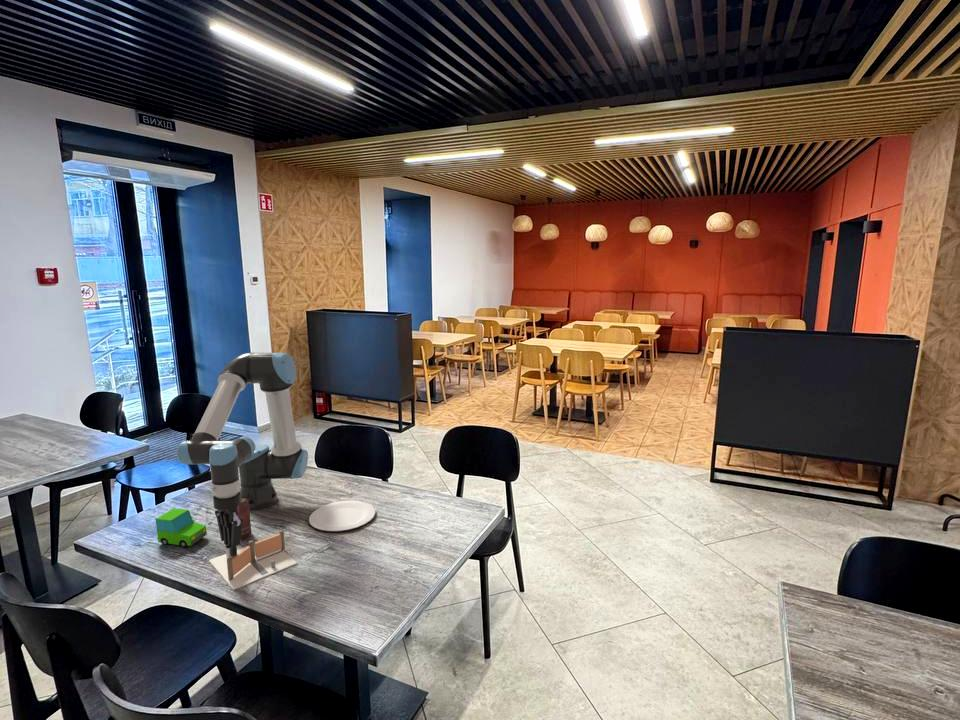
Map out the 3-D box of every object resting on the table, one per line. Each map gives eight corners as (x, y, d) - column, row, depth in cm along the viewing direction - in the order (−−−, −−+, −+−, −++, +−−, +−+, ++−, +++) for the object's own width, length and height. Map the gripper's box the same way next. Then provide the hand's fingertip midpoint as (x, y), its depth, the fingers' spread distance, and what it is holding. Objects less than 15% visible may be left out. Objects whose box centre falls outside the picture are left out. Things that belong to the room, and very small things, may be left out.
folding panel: (248, 562, 167) (246, 543, 166) (252, 563, 166) (250, 544, 165) (227, 579, 158) (225, 559, 156) (231, 580, 157) (229, 560, 156)
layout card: (269, 539, 183) (268, 532, 182) (297, 563, 167) (296, 557, 167) (208, 561, 169) (208, 554, 168) (233, 590, 153) (232, 583, 153)
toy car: (189, 551, 175) (186, 523, 173) (156, 546, 178) (153, 520, 176) (210, 536, 185) (208, 510, 183) (179, 532, 188) (176, 506, 186)
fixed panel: (283, 548, 176) (282, 529, 175) (285, 549, 175) (284, 530, 174) (249, 561, 168) (247, 541, 167) (251, 563, 167) (249, 543, 166)
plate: (294, 527, 192) (294, 523, 191) (336, 499, 215) (336, 496, 214) (350, 540, 182) (349, 535, 182) (387, 510, 205) (387, 506, 205)
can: (233, 542, 180) (230, 505, 178) (232, 534, 186) (229, 498, 184) (252, 538, 183) (249, 501, 181) (250, 530, 189) (247, 494, 186)
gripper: (204, 492, 158) (210, 562, 162) (224, 503, 150) (231, 576, 154) (228, 484, 164) (233, 552, 168) (249, 494, 156) (254, 565, 160)
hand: (232, 563), depth 161 cm, fingers closed
